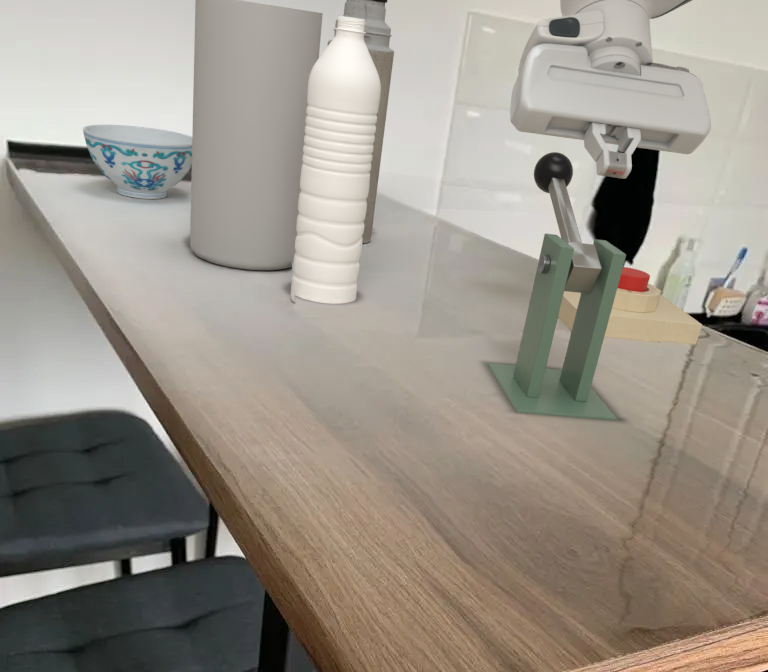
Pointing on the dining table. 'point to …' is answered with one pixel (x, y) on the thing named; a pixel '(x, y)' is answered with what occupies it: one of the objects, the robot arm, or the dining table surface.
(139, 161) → the chinaware
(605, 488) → the dining table surface
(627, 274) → the stop button
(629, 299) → the tan square base plate
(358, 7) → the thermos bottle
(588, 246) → the lever
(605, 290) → the switch bracket
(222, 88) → the cylinder vase
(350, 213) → the water bottle
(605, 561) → the dining table surface
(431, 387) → the dining table surface
